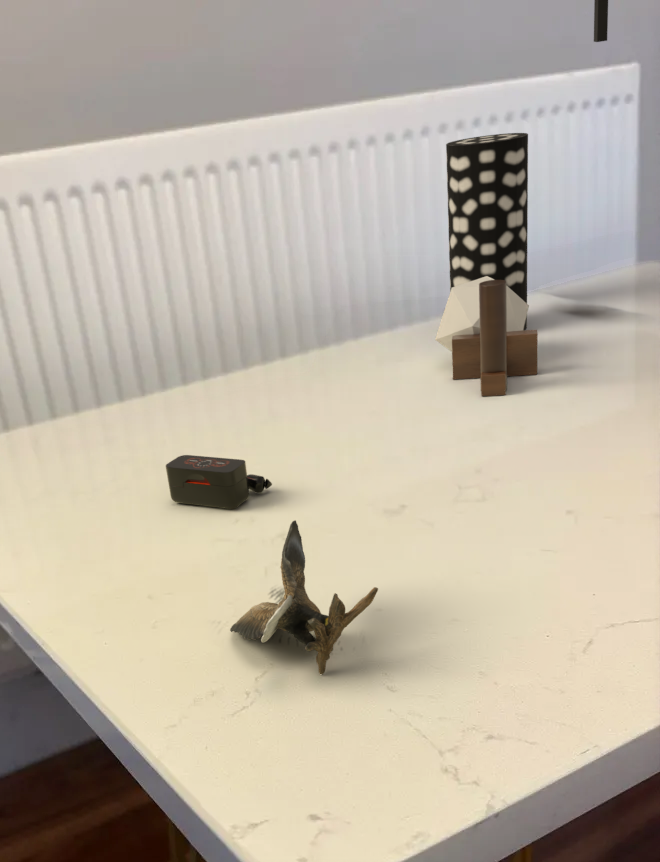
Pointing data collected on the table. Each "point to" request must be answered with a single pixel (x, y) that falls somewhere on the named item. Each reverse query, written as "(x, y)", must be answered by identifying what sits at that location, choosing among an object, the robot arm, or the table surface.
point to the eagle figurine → (300, 608)
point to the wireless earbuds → (212, 481)
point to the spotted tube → (488, 210)
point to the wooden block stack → (494, 345)
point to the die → (475, 312)
